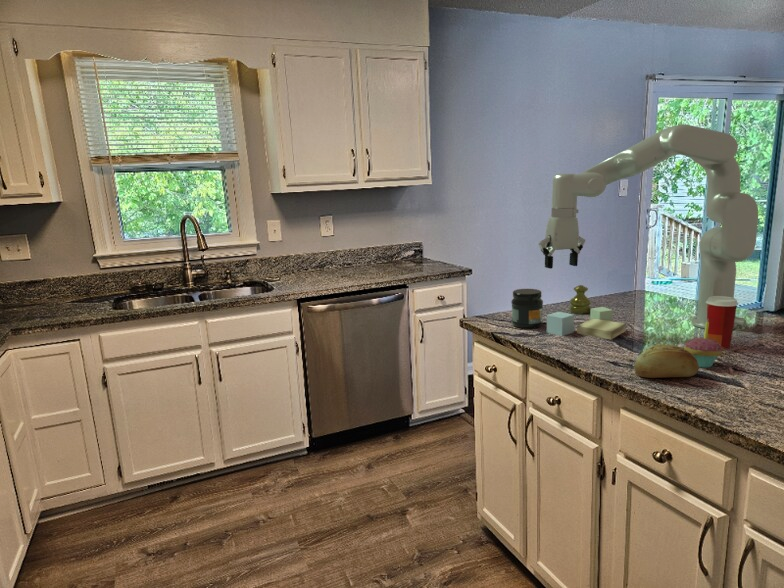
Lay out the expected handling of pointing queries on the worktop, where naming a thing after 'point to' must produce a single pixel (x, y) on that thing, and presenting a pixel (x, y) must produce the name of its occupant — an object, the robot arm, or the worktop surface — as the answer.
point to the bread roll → (666, 362)
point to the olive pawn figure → (580, 301)
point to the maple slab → (601, 328)
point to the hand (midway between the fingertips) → (561, 266)
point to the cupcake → (704, 349)
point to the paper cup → (721, 319)
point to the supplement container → (527, 308)
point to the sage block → (601, 313)
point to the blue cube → (560, 323)
